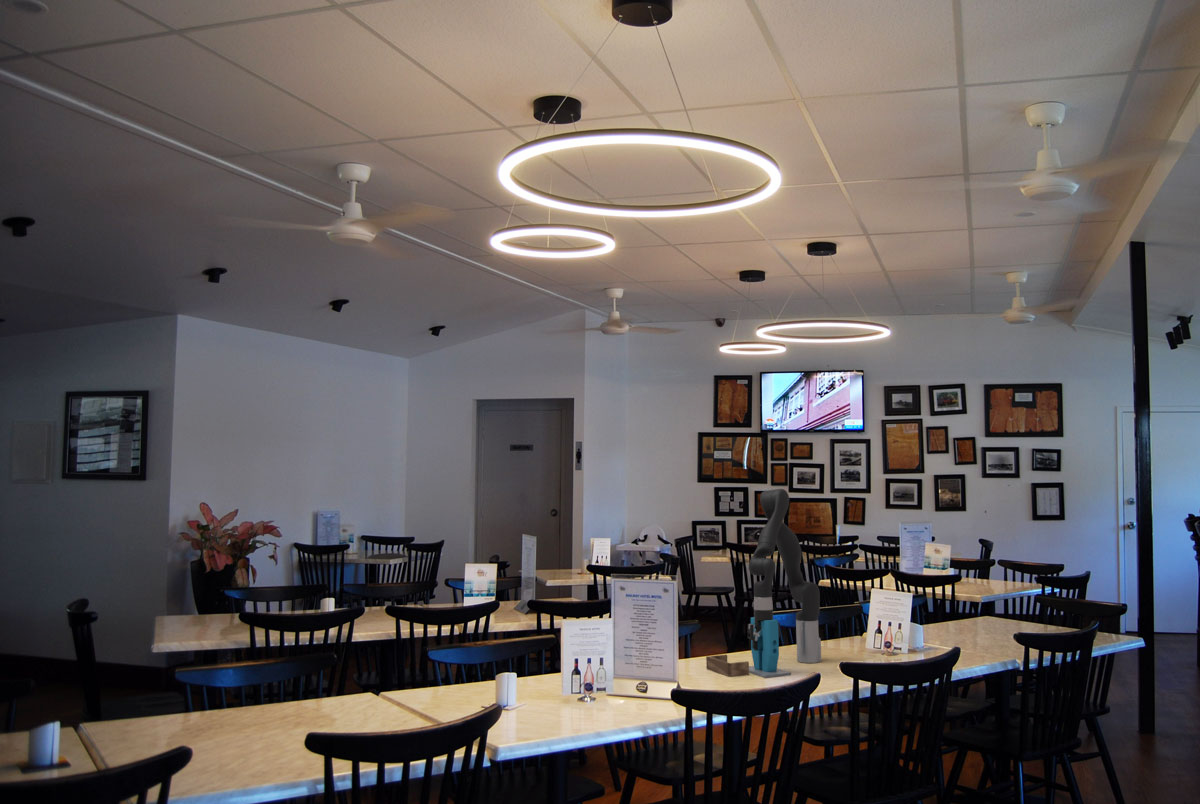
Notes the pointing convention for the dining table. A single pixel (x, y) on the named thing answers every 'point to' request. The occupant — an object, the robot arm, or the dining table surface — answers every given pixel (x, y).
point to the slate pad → (768, 673)
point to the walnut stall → (726, 666)
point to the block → (766, 646)
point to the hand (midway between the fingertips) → (764, 649)
